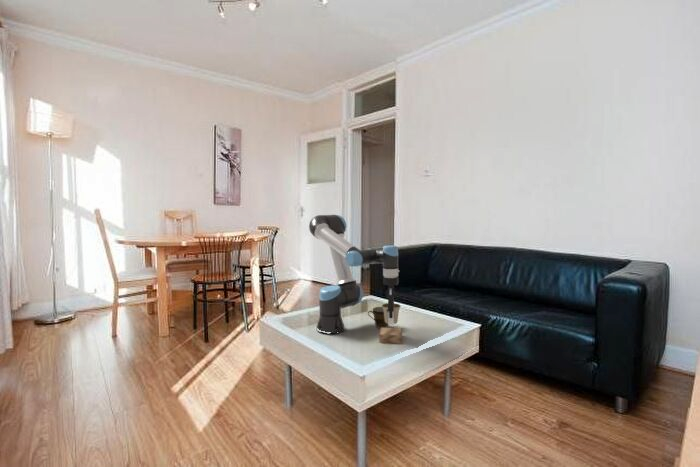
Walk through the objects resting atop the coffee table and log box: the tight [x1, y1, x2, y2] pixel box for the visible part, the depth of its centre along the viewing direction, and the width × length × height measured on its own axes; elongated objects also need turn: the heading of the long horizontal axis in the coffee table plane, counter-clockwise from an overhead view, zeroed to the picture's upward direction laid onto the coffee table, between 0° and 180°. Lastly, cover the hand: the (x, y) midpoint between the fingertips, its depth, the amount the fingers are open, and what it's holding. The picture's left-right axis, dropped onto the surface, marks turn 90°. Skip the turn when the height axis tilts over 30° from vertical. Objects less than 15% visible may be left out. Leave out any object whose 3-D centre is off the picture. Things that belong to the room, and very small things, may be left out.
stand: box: [378, 327, 403, 344], centre depth 180 cm, size 11×11×4 cm
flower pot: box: [381, 302, 401, 325], centre depth 180 cm, size 9×9×9 cm
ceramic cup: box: [367, 306, 389, 329], centre depth 199 cm, size 13×10×10 cm
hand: (391, 321), depth 180 cm, fingers closed on flower pot, 8 cm apart
